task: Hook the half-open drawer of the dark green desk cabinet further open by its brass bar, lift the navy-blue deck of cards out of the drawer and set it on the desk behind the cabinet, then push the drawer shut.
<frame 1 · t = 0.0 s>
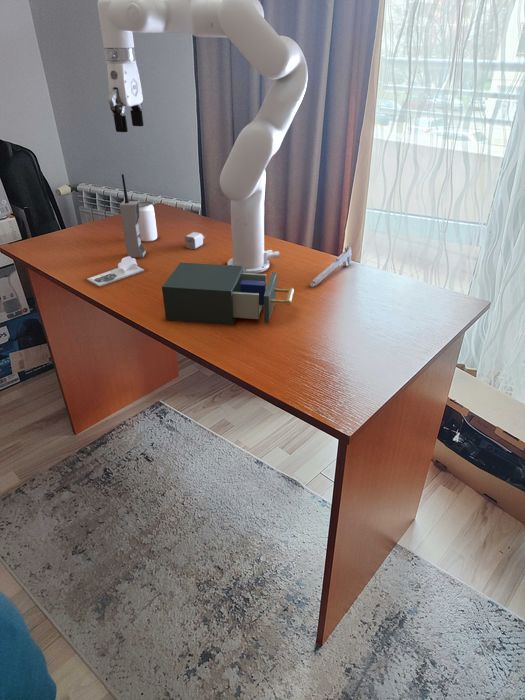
hand: (130, 128, 136), 37 cm above the table, tool pointing down, fingers open, 9 cm apart
drawer: (251, 295, 123), point 5 cm above the table, slide at 7.5 cm, touching card deck
usb wall charger: (196, 245, 165), on the table
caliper: (330, 275, 144), on the table
vintage mobile phone: (137, 256, 158), on the table
car cutout: (116, 275, 145), on the table
can: (148, 239, 171), on the table
cabinet: (206, 308, 127), on the table
card deck: (253, 302, 126), point 2 cm above the table, touching drawer
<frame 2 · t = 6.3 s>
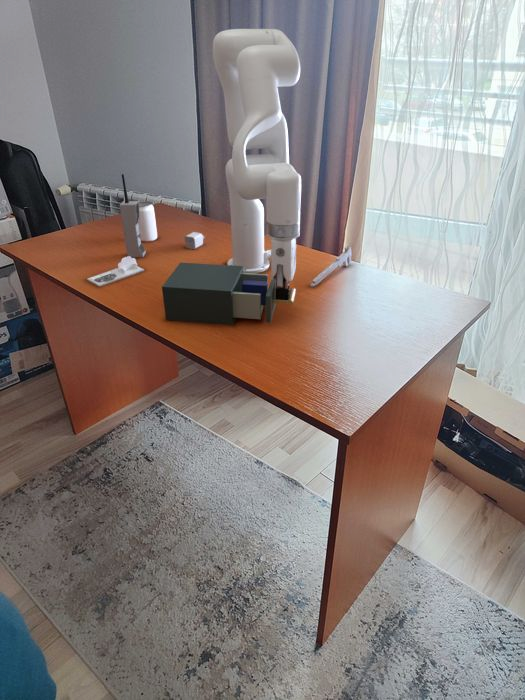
hand: (282, 301, 123), 4 cm above the table, tool pointing down, fingers closed
drawer: (253, 295, 123), point 5 cm above the table, slide at 7.9 cm, touching card deck
everything else where it was.
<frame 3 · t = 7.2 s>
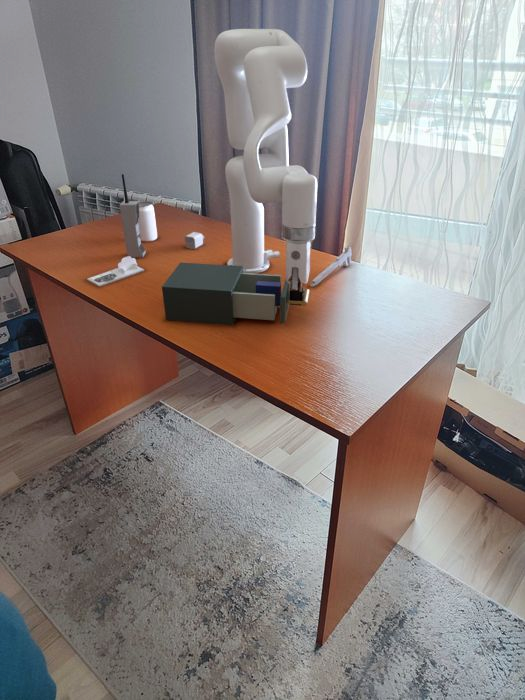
hand: (295, 303, 123), 3 cm above the table, tool pointing down, fingers closed
drawer: (266, 296, 123), point 5 cm above the table, slide at 11.3 cm, touching card deck, gripper
card deck: (268, 303, 125), point 2 cm above the table, touching drawer
everything else where it was.
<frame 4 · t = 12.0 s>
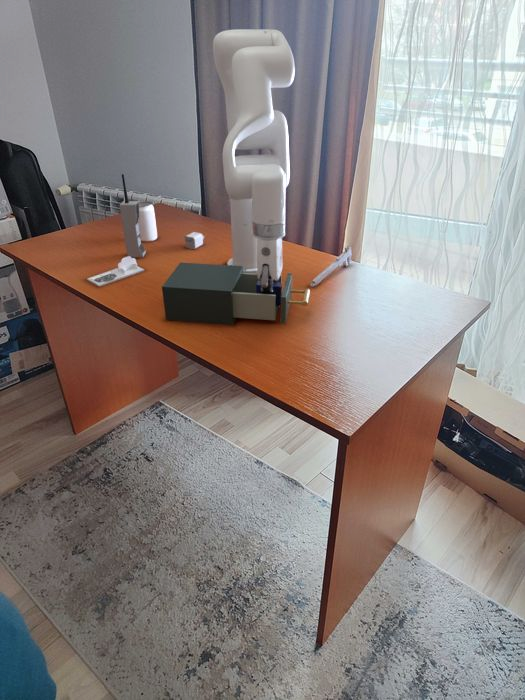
hand: (269, 300, 123), 4 cm above the table, tool pointing down, fingers open, 5 cm apart
nothing on the table moved.
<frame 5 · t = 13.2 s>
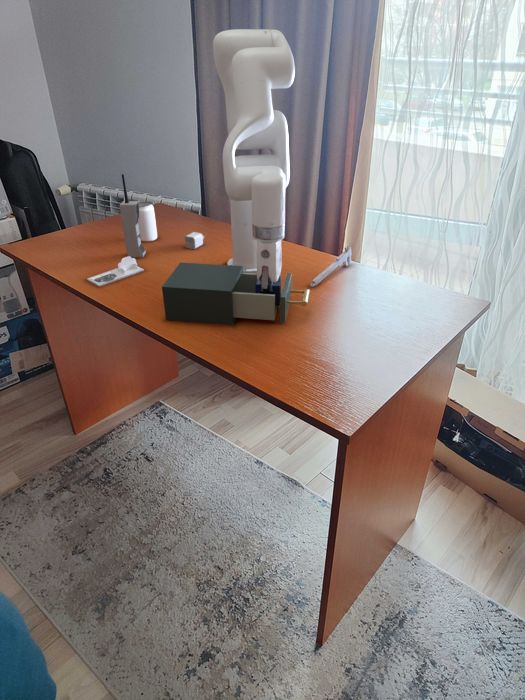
hand: (268, 301, 125), 3 cm above the table, tool pointing down, fingers closed on card deck, 2 cm apart
drawer: (266, 296, 123), point 5 cm above the table, slide at 11.4 cm
card deck: (268, 302, 125), point 2 cm above the table, touching gripper
everything else where it was.
when the fingers open (0 cm above the table, at t = 21.3 s): card deck stays where it is, on the table.
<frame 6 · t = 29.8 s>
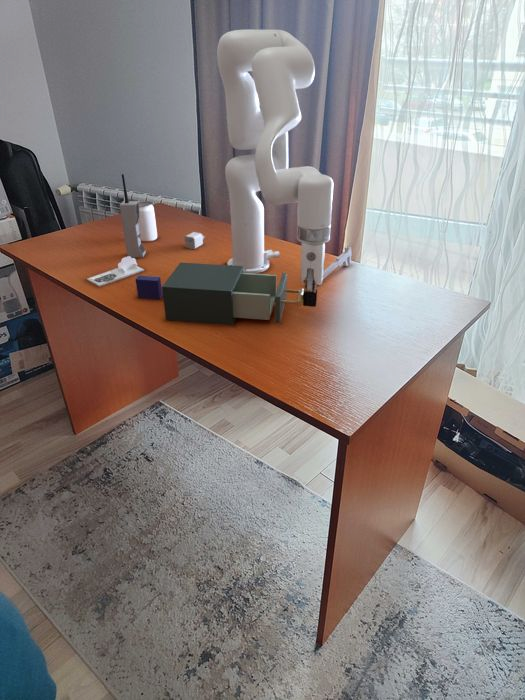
hand: (309, 304, 122), 3 cm above the table, tool pointing down, fingers closed
drawer: (261, 296, 123), point 4 cm above the table, slide at 10.1 cm, touching gripper
card deck: (150, 296, 133), on the table
everything else where it was.
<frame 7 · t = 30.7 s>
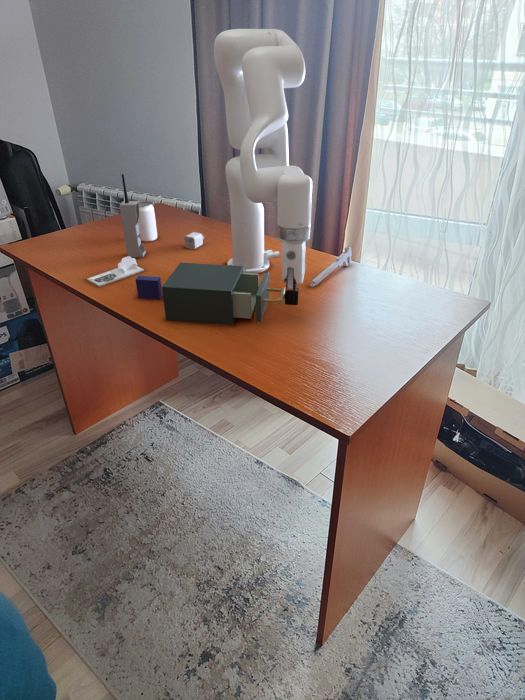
hand: (291, 303, 123), 3 cm above the table, tool pointing down, fingers closed
drawer: (244, 295, 124), point 5 cm above the table, slide at 5.6 cm, touching gripper
everything else where it was.
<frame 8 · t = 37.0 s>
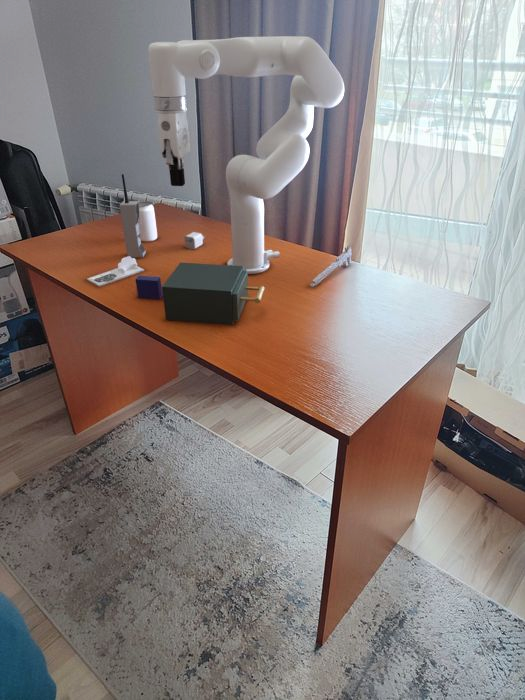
hand: (178, 185, 125), 27 cm above the table, tool pointing down, fingers closed
drawer: (221, 293, 124), point 5 cm above the table, slide at 0.0 cm
everything else where it was.
at the end: card deck inside the target area (0.2 cm from its centre), on the table; drawer slide at 0.0 cm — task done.
